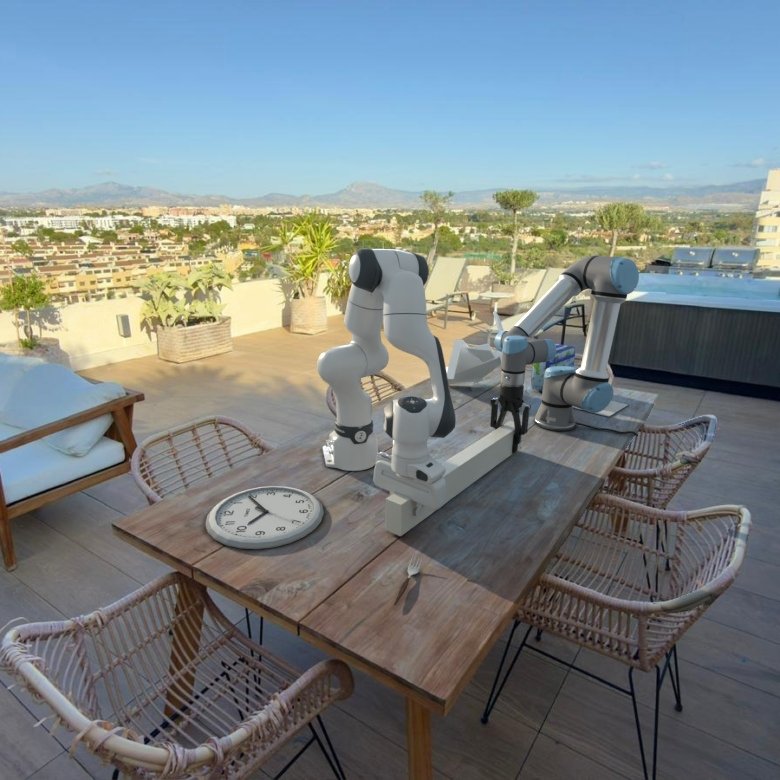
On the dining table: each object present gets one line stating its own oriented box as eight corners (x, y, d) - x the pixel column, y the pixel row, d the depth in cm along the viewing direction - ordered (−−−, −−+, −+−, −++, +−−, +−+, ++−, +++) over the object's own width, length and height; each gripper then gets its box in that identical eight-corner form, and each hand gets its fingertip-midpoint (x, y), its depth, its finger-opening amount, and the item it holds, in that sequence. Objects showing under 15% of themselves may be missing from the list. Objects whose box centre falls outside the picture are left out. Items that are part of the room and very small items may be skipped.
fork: (388, 605, 105) (388, 597, 104) (412, 560, 119) (412, 553, 119) (400, 609, 104) (400, 600, 104) (423, 563, 119) (423, 555, 118)
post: (507, 444, 183) (509, 420, 180) (520, 447, 180) (522, 423, 177) (385, 529, 131) (385, 498, 128) (400, 536, 128) (401, 504, 125)
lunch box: (547, 396, 238) (552, 351, 232) (526, 391, 246) (531, 347, 239) (574, 385, 256) (579, 343, 250) (554, 380, 263) (559, 340, 257)
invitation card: (608, 416, 214) (573, 407, 224) (608, 416, 214) (573, 408, 224) (628, 404, 229) (594, 396, 238) (628, 405, 229) (594, 397, 238)
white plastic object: (461, 429, 252) (437, 405, 227) (444, 352, 274) (420, 323, 250) (535, 404, 240) (518, 377, 215) (510, 326, 262) (492, 293, 237)
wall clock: (321, 540, 123) (190, 545, 121) (321, 546, 124) (191, 551, 121) (325, 481, 152) (219, 484, 149) (325, 486, 152) (220, 489, 150)
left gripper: (368, 454, 131) (367, 502, 136) (437, 479, 120) (433, 531, 124) (383, 446, 136) (382, 492, 141) (451, 470, 125) (447, 520, 129)
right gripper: (481, 381, 172) (477, 446, 179) (534, 392, 162) (527, 460, 169) (492, 376, 178) (487, 439, 185) (543, 386, 167) (536, 452, 174)
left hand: (407, 511), depth 132 cm, fingers closed on post, 5 cm apart
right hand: (506, 449), depth 177 cm, fingers closed on post, 5 cm apart
